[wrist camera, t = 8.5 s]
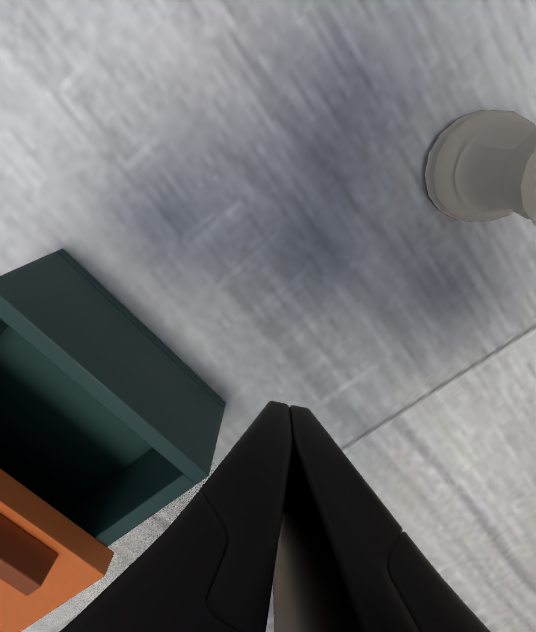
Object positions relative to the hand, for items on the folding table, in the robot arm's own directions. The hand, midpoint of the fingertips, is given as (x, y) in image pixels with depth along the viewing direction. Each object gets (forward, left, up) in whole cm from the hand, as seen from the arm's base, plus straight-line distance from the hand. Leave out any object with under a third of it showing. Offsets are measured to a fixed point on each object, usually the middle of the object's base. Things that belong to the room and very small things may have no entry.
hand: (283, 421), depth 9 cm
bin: (+2, +17, -12) cm, 21 cm away
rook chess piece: (-2, -9, -12) cm, 16 cm away
